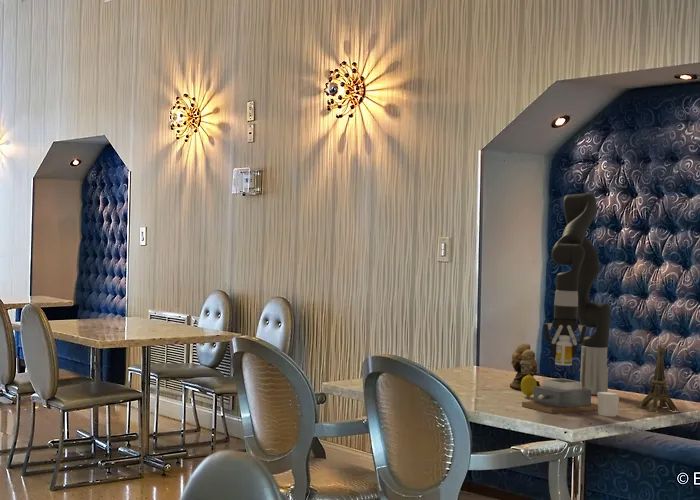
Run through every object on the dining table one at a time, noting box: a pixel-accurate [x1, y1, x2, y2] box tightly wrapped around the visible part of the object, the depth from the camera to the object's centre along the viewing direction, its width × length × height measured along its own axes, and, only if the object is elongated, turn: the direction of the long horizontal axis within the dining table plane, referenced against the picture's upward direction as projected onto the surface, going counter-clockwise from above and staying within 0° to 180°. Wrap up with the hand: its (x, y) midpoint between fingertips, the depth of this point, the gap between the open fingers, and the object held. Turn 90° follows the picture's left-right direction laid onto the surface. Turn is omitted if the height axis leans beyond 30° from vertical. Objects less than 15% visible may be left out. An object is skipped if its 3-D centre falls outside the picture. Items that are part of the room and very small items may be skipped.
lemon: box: [520, 375, 537, 398], centre depth 346 cm, size 6×6×8 cm
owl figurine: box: [509, 342, 542, 392], centre depth 367 cm, size 18×12×17 cm, turn 0°
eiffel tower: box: [636, 341, 679, 413], centre depth 329 cm, size 11×11×25 cm
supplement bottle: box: [554, 335, 573, 367], centre depth 324 cm, size 5×5×10 cm
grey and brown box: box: [521, 378, 598, 415], centre depth 324 cm, size 22×14×9 cm, turn 121°
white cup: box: [596, 391, 621, 417], centre depth 315 cm, size 7×7×7 cm
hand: (563, 355), depth 324 cm, fingers closed on supplement bottle, 5 cm apart
